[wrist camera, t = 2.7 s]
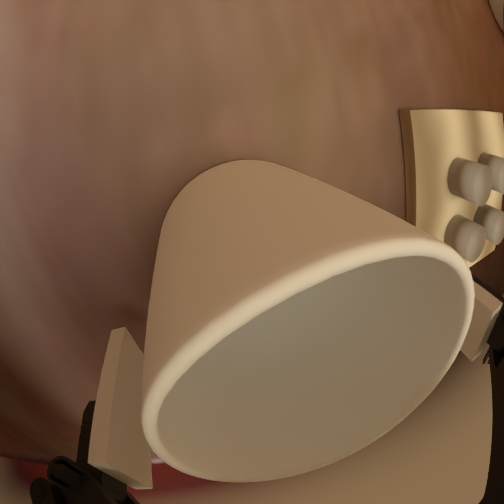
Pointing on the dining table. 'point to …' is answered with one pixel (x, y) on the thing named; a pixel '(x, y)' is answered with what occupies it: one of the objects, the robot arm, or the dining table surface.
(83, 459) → the robot arm
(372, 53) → the dining table surface
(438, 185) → the peg stand
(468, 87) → the dining table surface
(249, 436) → the mug
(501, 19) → the mug
